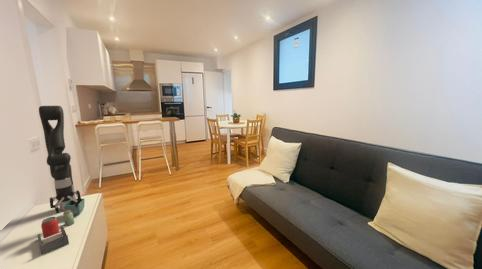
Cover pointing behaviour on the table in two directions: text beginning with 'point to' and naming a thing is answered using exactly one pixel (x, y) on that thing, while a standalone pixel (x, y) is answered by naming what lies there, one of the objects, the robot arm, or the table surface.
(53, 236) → the pusher
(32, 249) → the table surface
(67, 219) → the jar
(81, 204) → the flower pot
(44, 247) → the lane
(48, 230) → the beer can
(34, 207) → the table surface
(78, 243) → the table surface
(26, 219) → the table surface
